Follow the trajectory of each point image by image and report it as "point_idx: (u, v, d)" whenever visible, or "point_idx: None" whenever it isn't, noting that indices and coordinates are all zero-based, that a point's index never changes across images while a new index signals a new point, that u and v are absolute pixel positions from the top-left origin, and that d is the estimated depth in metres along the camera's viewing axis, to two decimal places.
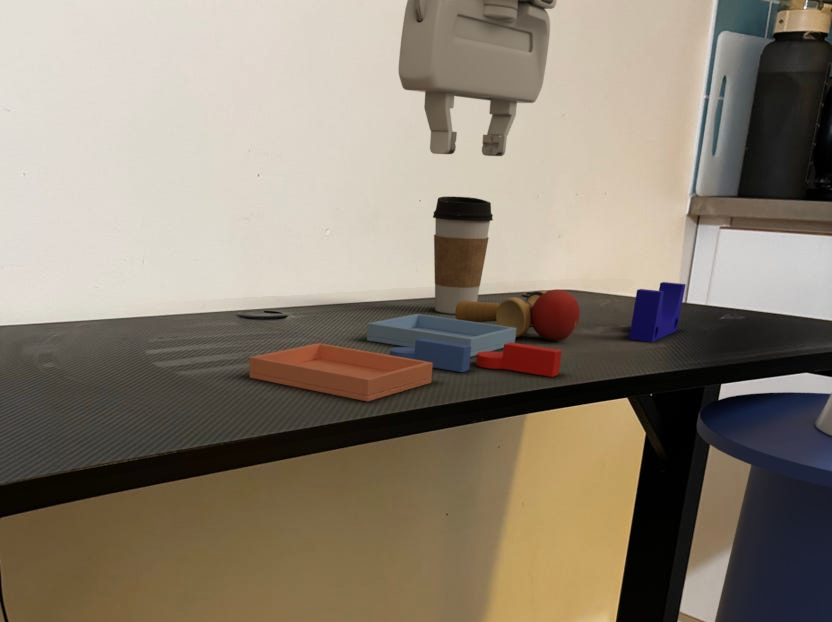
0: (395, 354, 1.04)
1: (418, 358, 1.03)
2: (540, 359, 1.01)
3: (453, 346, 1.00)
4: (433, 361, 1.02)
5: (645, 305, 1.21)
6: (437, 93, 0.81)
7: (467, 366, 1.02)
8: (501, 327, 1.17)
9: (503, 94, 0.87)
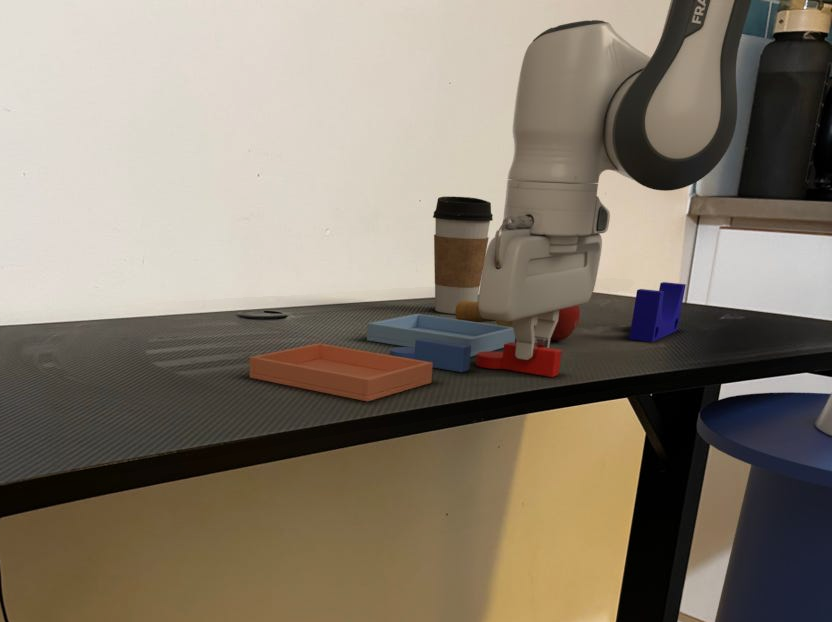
0: (395, 354, 1.04)
1: (418, 358, 1.03)
2: (540, 359, 1.01)
3: (453, 346, 1.00)
4: (433, 361, 1.02)
5: (645, 305, 1.21)
6: None
7: (467, 366, 1.02)
8: (501, 327, 1.17)
9: (562, 306, 1.01)
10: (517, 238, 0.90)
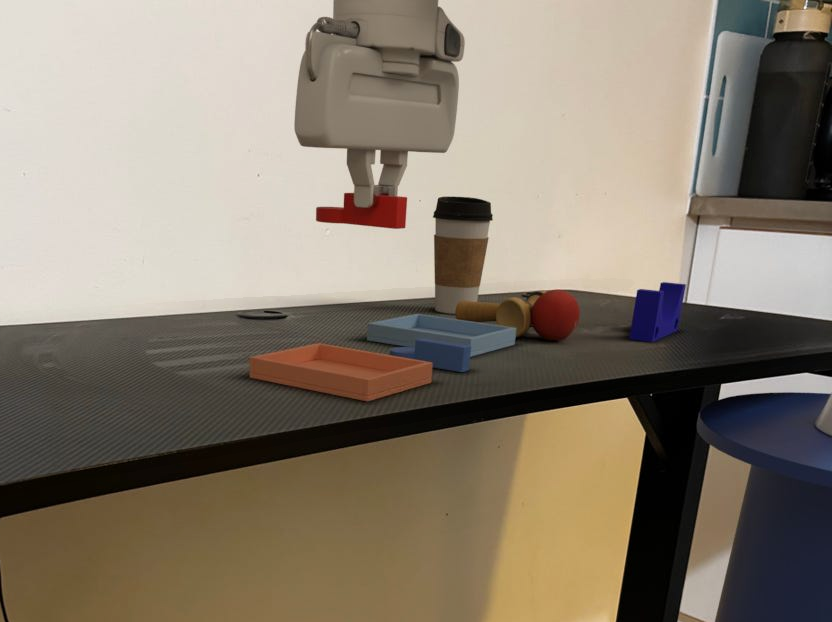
0: (395, 354, 1.04)
1: (418, 358, 1.03)
2: (382, 208, 0.87)
3: (453, 346, 1.00)
4: (433, 361, 1.02)
5: (645, 305, 1.21)
6: None
7: (467, 366, 1.02)
8: (501, 327, 1.17)
9: (409, 147, 0.87)
10: (335, 44, 0.76)
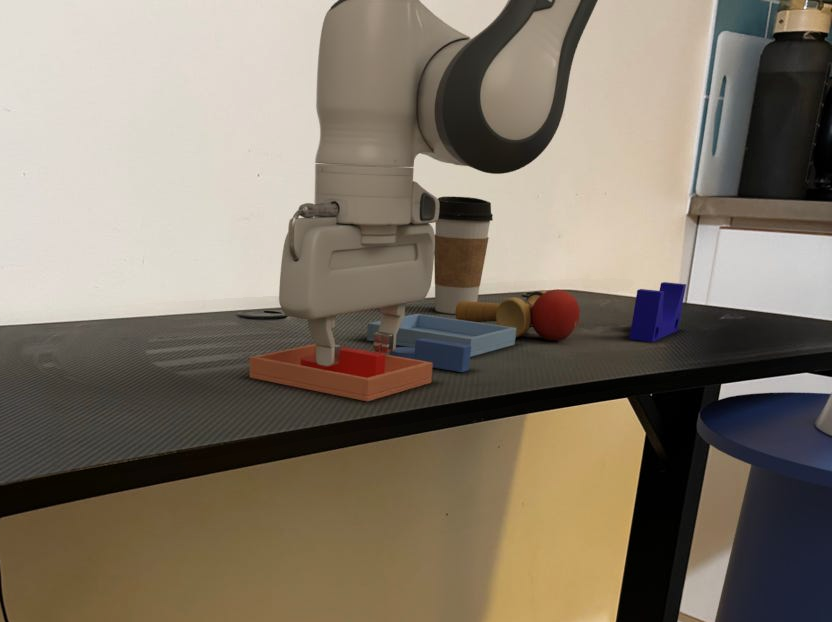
0: (395, 354, 1.04)
1: (418, 358, 1.03)
2: (362, 364, 0.92)
3: (453, 346, 1.00)
4: (433, 361, 1.02)
5: (645, 305, 1.21)
6: None
7: (467, 366, 1.02)
8: (501, 327, 1.17)
9: (388, 303, 0.92)
10: (316, 227, 0.82)
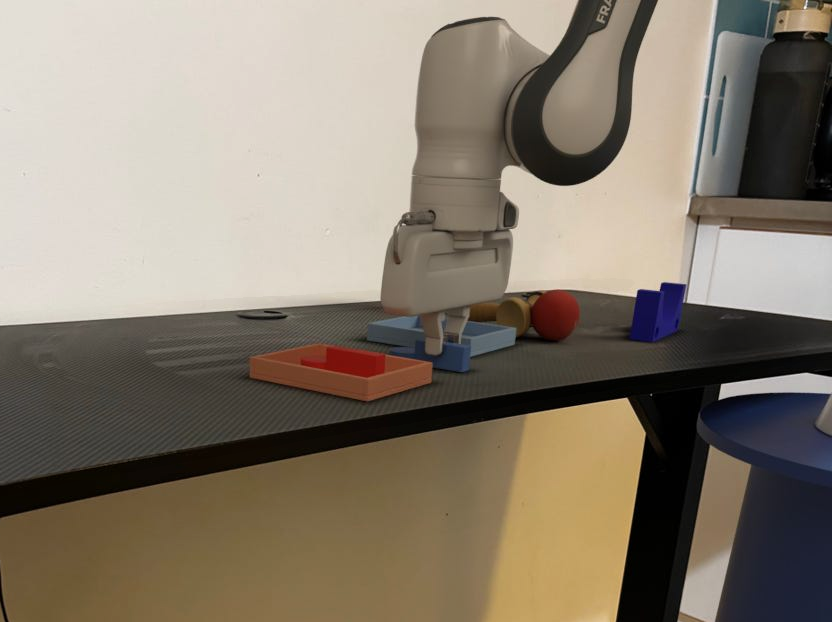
0: (395, 354, 1.04)
1: (418, 358, 1.03)
2: (362, 364, 0.92)
3: (453, 346, 1.00)
4: (433, 361, 1.02)
5: (645, 305, 1.21)
6: None
7: (467, 366, 1.02)
8: (501, 327, 1.17)
9: (472, 302, 1.01)
10: (416, 233, 0.91)
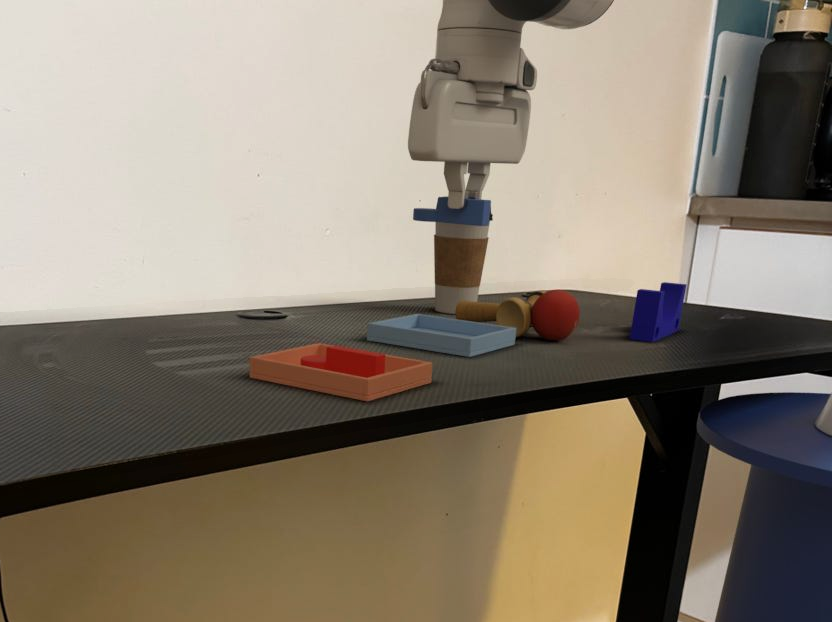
0: (418, 212, 1.10)
1: (440, 215, 1.09)
2: (362, 364, 0.92)
3: (474, 200, 1.06)
4: (455, 217, 1.08)
5: (645, 305, 1.21)
6: None
7: (487, 221, 1.07)
8: (501, 327, 1.17)
9: (492, 159, 1.07)
10: (442, 79, 0.96)
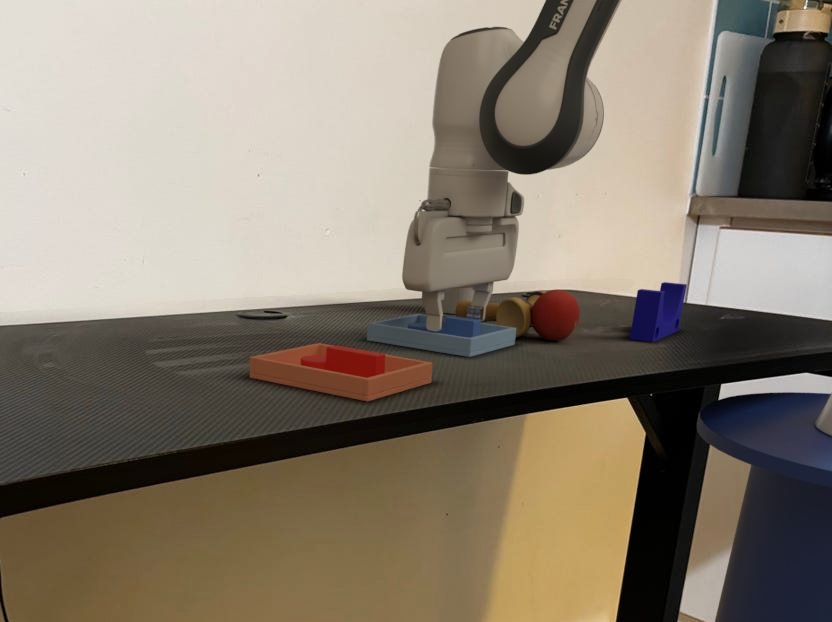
0: (412, 328, 1.16)
1: None
2: (362, 364, 0.92)
3: (464, 320, 1.13)
4: None
5: (645, 305, 1.21)
6: None
7: None
8: (501, 327, 1.17)
9: (482, 281, 1.13)
10: (434, 218, 1.03)
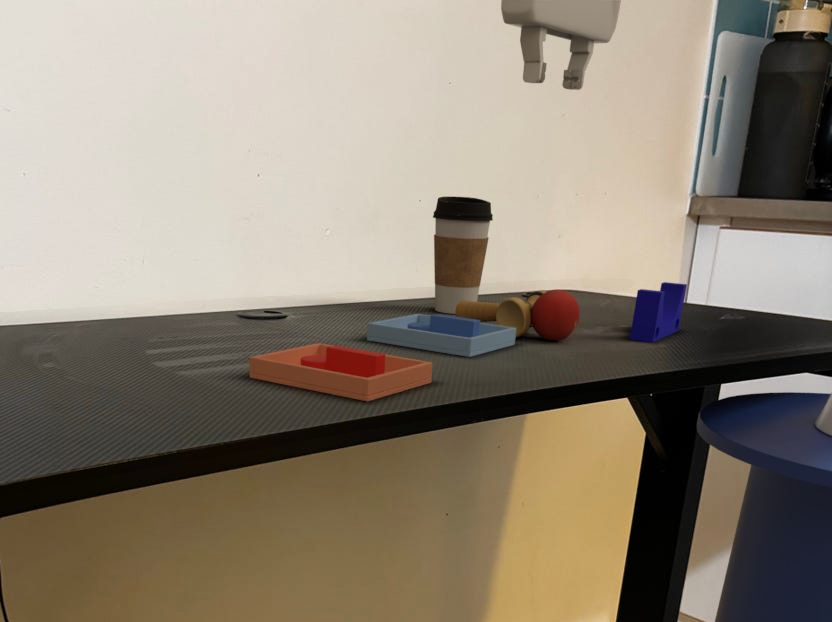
0: (412, 328, 1.16)
1: None
2: (362, 364, 0.92)
3: (464, 320, 1.13)
4: None
5: (645, 306, 1.21)
6: (532, 27, 0.94)
7: None
8: (501, 327, 1.17)
9: (585, 32, 0.99)
10: None
